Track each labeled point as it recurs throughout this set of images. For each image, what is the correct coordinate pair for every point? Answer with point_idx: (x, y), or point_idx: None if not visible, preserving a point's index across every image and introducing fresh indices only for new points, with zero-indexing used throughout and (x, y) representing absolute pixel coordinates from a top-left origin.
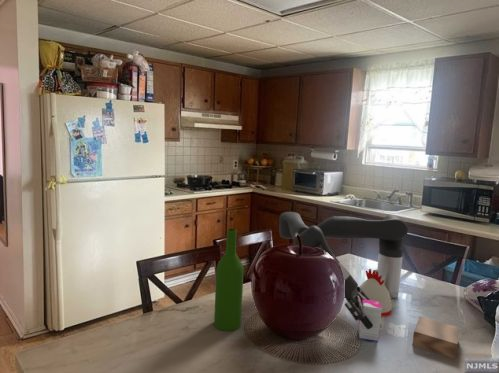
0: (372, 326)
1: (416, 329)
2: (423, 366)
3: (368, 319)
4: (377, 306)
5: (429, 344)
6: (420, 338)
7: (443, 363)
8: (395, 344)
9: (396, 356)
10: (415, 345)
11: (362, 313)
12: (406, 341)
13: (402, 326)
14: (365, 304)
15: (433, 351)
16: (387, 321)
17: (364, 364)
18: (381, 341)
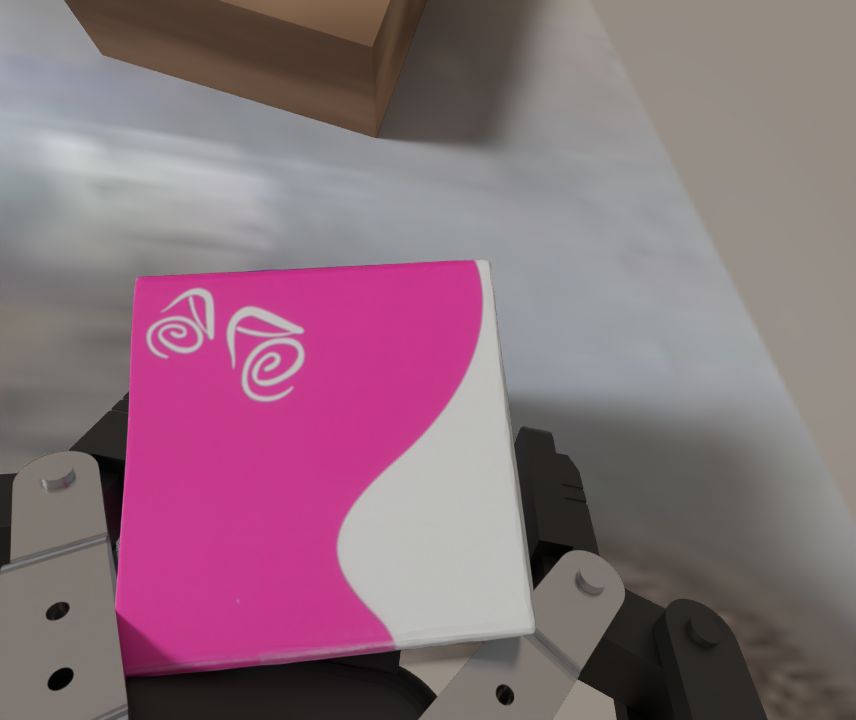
0: (549, 434)
1: (328, 20)
2: (630, 121)
3: (550, 492)
4: (427, 331)
5: (411, 10)
6: (390, 41)
7: (541, 4)
8: (414, 253)
9: (584, 267)
10: (382, 117)
11: (612, 617)
12: (337, 169)
13: (83, 159)
14: (439, 592)
15: (417, 24)
16: (12, 270)
17: (795, 503)
18: None
